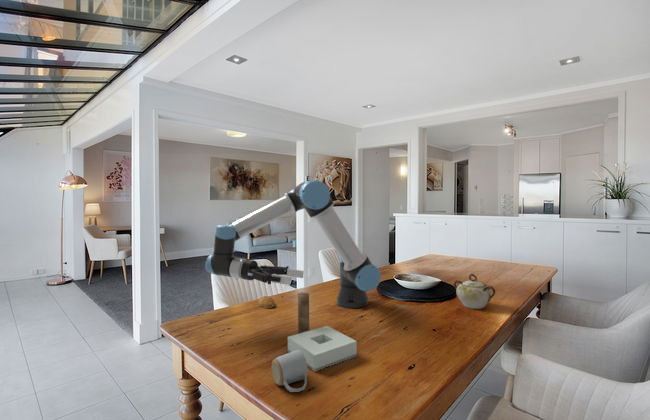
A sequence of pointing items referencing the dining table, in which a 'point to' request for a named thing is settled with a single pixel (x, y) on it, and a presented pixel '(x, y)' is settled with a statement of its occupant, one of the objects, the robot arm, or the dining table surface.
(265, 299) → the tan rounded lump
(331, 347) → the socket block
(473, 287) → the sugar bowl
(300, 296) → the dowel
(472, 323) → the dining table surface
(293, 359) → the ceramic mug
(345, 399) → the dining table surface
